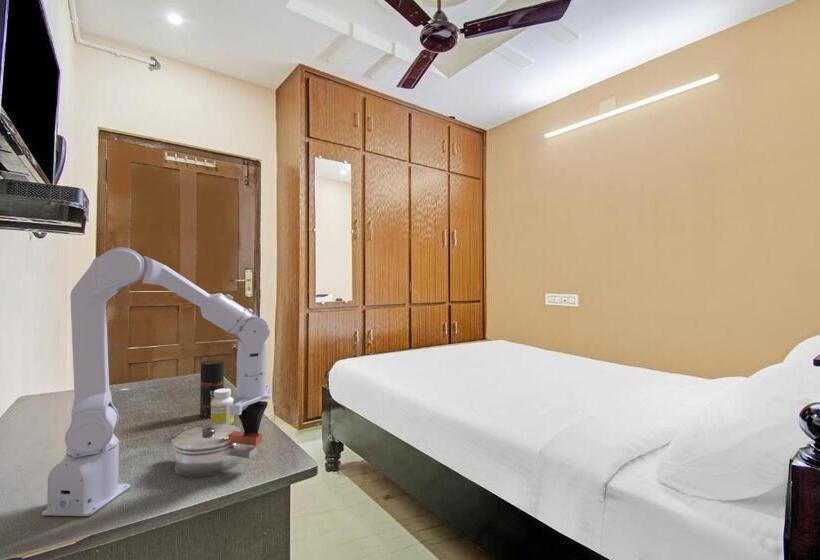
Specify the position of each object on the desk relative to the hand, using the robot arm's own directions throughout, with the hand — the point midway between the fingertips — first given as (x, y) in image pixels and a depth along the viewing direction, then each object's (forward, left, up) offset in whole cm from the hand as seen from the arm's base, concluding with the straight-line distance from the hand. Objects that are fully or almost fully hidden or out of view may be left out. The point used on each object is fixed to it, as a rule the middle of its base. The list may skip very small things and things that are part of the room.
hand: (251, 438), depth 83 cm
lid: (0, +6, 0) cm, 6 cm away
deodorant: (+30, +24, -6) cm, 39 cm away
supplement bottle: (+20, +16, -6) cm, 26 cm away
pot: (0, +8, -6) cm, 10 cm away
